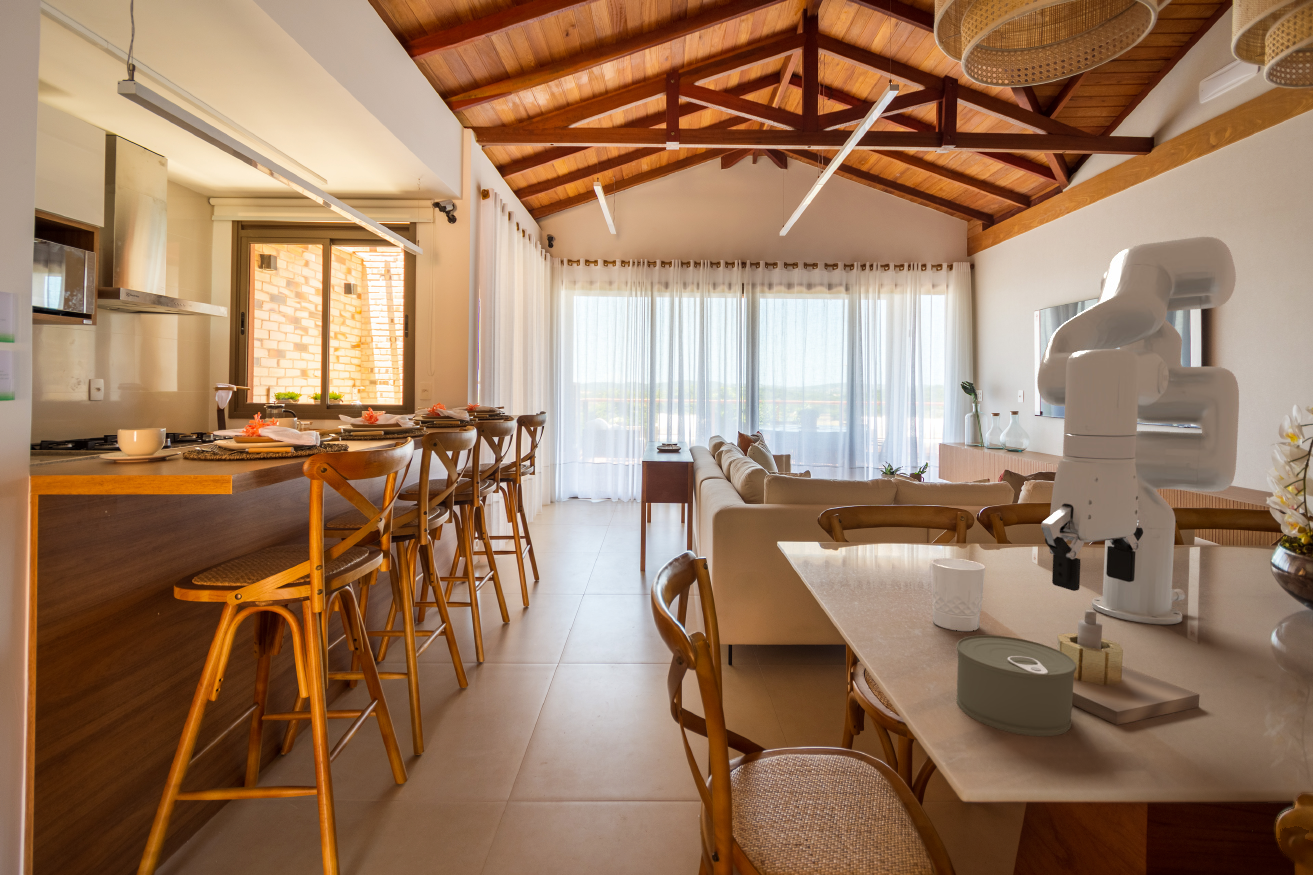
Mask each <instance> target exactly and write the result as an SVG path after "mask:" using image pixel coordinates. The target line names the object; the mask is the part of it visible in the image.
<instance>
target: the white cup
mask: <svg viewBox="0 0 1313 875" xmlns="http://www.w3.org/2000/svg"><path fill="white" fill-rule="evenodd" d="M930 563H931V564H930V567H931V569H930V570H931V574H930V576H931V577H930V578H931V604H932V622H933V623H934V625H936V626H938V627H941V628H943V629H946V630H950V631H956V630H957V631H956V632H973V630H974V631H977V630H978V629H979V628H980V619H981V614H980V613H981V611H982V603H983V598H984V597H983V595H984V594H983V593H984V583H985V574H986V573H985V572H986V566H985V565H984V564H983V563H980V562H976V561H973V560H967V559H962V558H951V557H948V558H947V557H941V558H934V559H932V560H931V562H930Z"/></svg>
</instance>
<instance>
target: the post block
mask: <svg viewBox="0 0 1313 875" xmlns="http://www.w3.org/2000/svg"><path fill="white" fill-rule="evenodd" d="M1097 614H1098V611H1096V610H1091V609H1085V611H1084V619H1080V620H1079V619H1078V621H1077V622H1078V624H1077V633H1078V641H1077V644H1078V645H1081V646H1083V647H1089V648H1096V649H1101V640H1102V638H1103V637H1102V636H1103V634H1102V633H1103V624H1102V623H1100V622H1098V621H1097ZM1049 647H1051V648H1054V649H1056V650H1057V645H1052V646H1049ZM1200 696H1201V695H1200V693H1197V692H1195V691H1192V690H1189V689H1186V688H1183V687H1181V686H1178V685H1177V684H1176V685H1175V684H1173V683H1170V682H1167V681H1164V680H1162V679H1159V678H1156V677H1154V676H1150V675H1148V674H1147V673H1143V672H1141V671H1137V670H1136V669H1135V670H1134V669H1132V668H1130V667H1127V666H1124V665H1122V680H1121V683H1117V684H1112V685H1105V684H1104V685H1100V684H1094V683H1088V682H1082V681H1081V680H1075V679H1074V681H1073V697H1072V706H1074V707H1077V708H1079V709H1081V710H1083V711H1085V712H1087V713H1090V714H1092V715H1095V716H1096V717H1098V718H1101V719H1102V720H1105V721H1107V722H1110V723H1111V724H1114V725H1116V726H1118V725H1123V724H1128V723H1132V722H1137V721H1142V720H1145V719H1150V718H1151V719H1152V718H1155V717H1159V716H1163V715H1164V716H1165V715H1169V714H1173V713H1177V712H1183V711H1186V710H1191V709H1195V708H1199V707H1200Z"/></svg>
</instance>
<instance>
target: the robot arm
mask: <svg viewBox="0 0 1313 875" xmlns="http://www.w3.org/2000/svg"><path fill="white" fill-rule="evenodd" d="M1236 274H1237V273H1236V267H1235V263H1234V259H1233V255H1232V252H1231V250H1230V248H1229V247H1228V246H1227V244H1226V243H1225V242H1224V241H1222V240H1221V239H1220V238H1217V237H1212V236H1199V237H1198V236H1196V237H1190V238H1181V239H1173V240H1167V241H1160V242H1159V241H1158V242H1151V243H1143V244H1139V245H1133V246H1131V247H1127V248H1126V249H1123V250H1122V251H1120V252H1119V253H1118V254H1116V255H1115V256H1114V257H1113V258H1112V260H1111V261H1110V262H1109V265H1108V268H1107V271H1106V272H1105V273H1104V274H1103V276H1102V277H1101V281H1100V293H1099V296H1098V299H1097V302H1096V304H1094V305H1092V306H1090V307H1088V308H1086V309H1085V310H1083V311H1082V312H1080V313H1078V314H1077V315H1075V316H1074V317H1071V318H1070V319H1069V320H1067V321H1065V322H1064V323H1063V324H1061V325H1060V326H1059V327H1058V328H1057V329H1056V330H1055V331H1054V332H1053V333H1052V335H1051V337H1050V338H1049V339H1048V342H1047V344H1046V347H1045V349H1044V353H1043V354H1042V358H1041V362H1040V364H1039V368H1038V374H1037V382H1036V383H1037V389H1038V393H1039V396H1041V399H1042V400H1044V402H1046V403H1048V404H1049V405H1052V406H1056V407H1064V421H1063V422H1064V423H1063V424H1064V426H1063V443H1062V444H1063V446H1062V447H1063V448H1062V459H1059V462H1058V465H1057V468H1056V472H1055V476H1054V481H1053V486H1052V494H1051V503H1050V510H1049V511H1050V513H1049V516H1048V517H1047V518H1046V519H1045V520H1043V521H1042V522H1041V524H1040V527H1041V530H1042V533H1043V536H1044V538H1045V539H1044V542H1045V544H1046V545H1047V547H1049V553H1050V554H1051V555H1052V574H1051V575H1052V578H1051V579H1052V581H1051V582H1052V584H1053V585H1054V586H1056V587H1060V588H1062V589H1066V590H1069V591H1073V592H1074V591H1075V592H1076V591H1080V585H1081V582H1080V581H1081V558H1077V556H1078V555H1079V553H1080V551H1081V549H1083V546H1084V545H1085V543H1094V542H1096V543H1097V542H1103V541H1104V557H1103V558H1104V561H1103V583H1102V596H1096V597H1094V598H1092V600H1091V607H1092V608H1093V609H1094V611H1096V612H1099V613H1101V614H1103V615H1107V616H1110V617H1114V618H1115V619H1116V618H1117V619H1119V620H1120V619H1121V620H1125V621H1129V622H1130V621H1131V622H1136V623H1141V624H1142V623H1143V624H1151V625H1175V624H1179V623H1181V622H1182V621H1183V614H1182V612H1181V611H1179V610H1178V609H1176V608H1174V607H1173V603H1174V602H1178V601H1183V600H1184V599H1185V598H1186V593H1185V592H1184V590H1182V589H1180V588H1176V589H1173V588H1172V587H1173V575H1174V574H1173V572H1174V553H1175V536H1176V535H1175V534H1176V532H1175V531H1176V516H1175V512H1174V510H1173V508H1172V507H1171V505H1170V504H1169V503H1168V501H1166V499H1164V497H1163V496H1162V495H1161V494H1160V492H1158V490H1159V489H1160V490H1167V489H1169V490H1182V491H1195V492H1209V493H1210V492H1213V493H1214V492H1221V491H1224V490H1227V489H1228V488H1230V486H1231V485H1232V484H1233V481H1234V479H1235V475H1236V470H1237V457H1238V456H1237V455H1238V454H1237V453H1238V436H1239V434H1238V432H1239V413H1240V412H1239V411H1240V393H1239V392H1240V390H1239V385H1238V380H1237V378H1236V376H1235V374H1234V373H1233V372H1232V371H1231V370H1229V369H1227V368H1225V367H1221V366H1220V367H1219V366H1183V365H1182V345H1183V339H1182V336H1181V334H1180V332H1178V330H1177V329H1176V328H1175V327H1174V326H1173V325H1172V323H1171V322H1169V321H1168V320H1167V319H1166V318H1167V314H1168V313H1167V312H1177V311H1189V310H1190V311H1191V310H1200V309H1201V310H1205V309H1213V308H1218V307H1222V306H1223V305H1225V304H1227V302H1229V300H1230V298H1231V297H1232V295H1233V293H1234V290H1235V286H1236V281H1237V278H1236V277H1237V276H1236ZM1138 423H1140V424H1141V423H1142V424H1143V423H1144V424H1165V425H1167V424H1169V425H1170V424H1171V425H1193V426H1197V427H1198V428H1199V429H1201V432H1181V431H1178V432H1175V431H1162V430H1160V431H1158V430H1157V431H1155V430H1137V429H1138ZM1067 541H1071V543H1070V544H1068V543H1067Z"/></svg>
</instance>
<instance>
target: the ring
mask: <svg viewBox="0 0 1313 875" xmlns="http://www.w3.org/2000/svg"><path fill="white" fill-rule="evenodd" d="M1077 641H1078V632H1074V633H1073V632H1069V633H1068V632H1067V633H1062V634H1061V633H1059V634H1058V635H1057V641H1056V642H1057V643H1056V644H1057V645H1056V646H1057V650H1058V651H1061V652H1063V653H1064V654H1066V655H1068V656H1069V657H1070V658H1072V659H1073V660H1074V662H1075V664H1076V671H1075V673H1074V679H1075V680H1081V681H1082V682H1088V683H1094V684H1100V685H1104V684H1105V685H1112V684H1117V683H1121V680H1122V666H1123V655H1124V649H1123V647H1122V646H1121V645H1120V643H1117V642H1115V641H1113V640H1109V639H1107V638H1104V637H1102V640H1101V649H1096V648H1089V647H1083V646H1081V645H1078V644H1077Z"/></svg>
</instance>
